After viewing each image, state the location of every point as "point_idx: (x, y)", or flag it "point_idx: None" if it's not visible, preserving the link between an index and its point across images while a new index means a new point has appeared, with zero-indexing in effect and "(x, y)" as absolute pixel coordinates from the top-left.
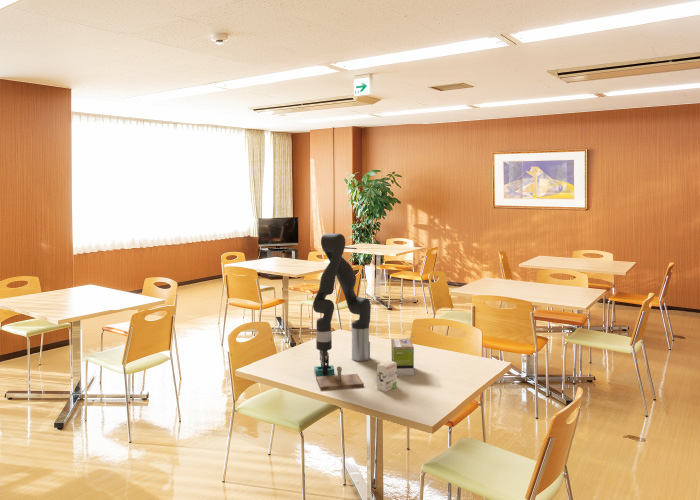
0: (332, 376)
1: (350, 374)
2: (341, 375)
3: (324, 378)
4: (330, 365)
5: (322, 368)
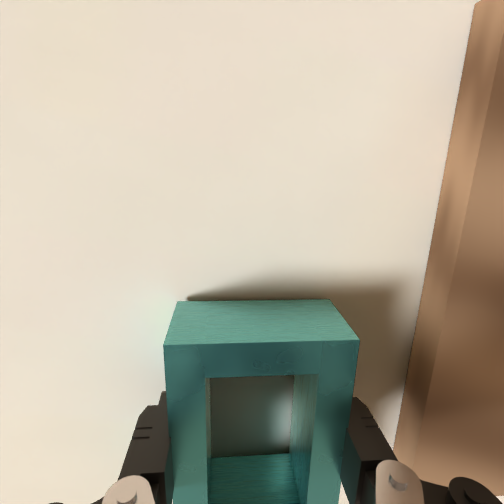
0: (468, 355)
1: (497, 106)
2: (480, 245)
3: (489, 436)
4: (165, 371)
5: (207, 453)
